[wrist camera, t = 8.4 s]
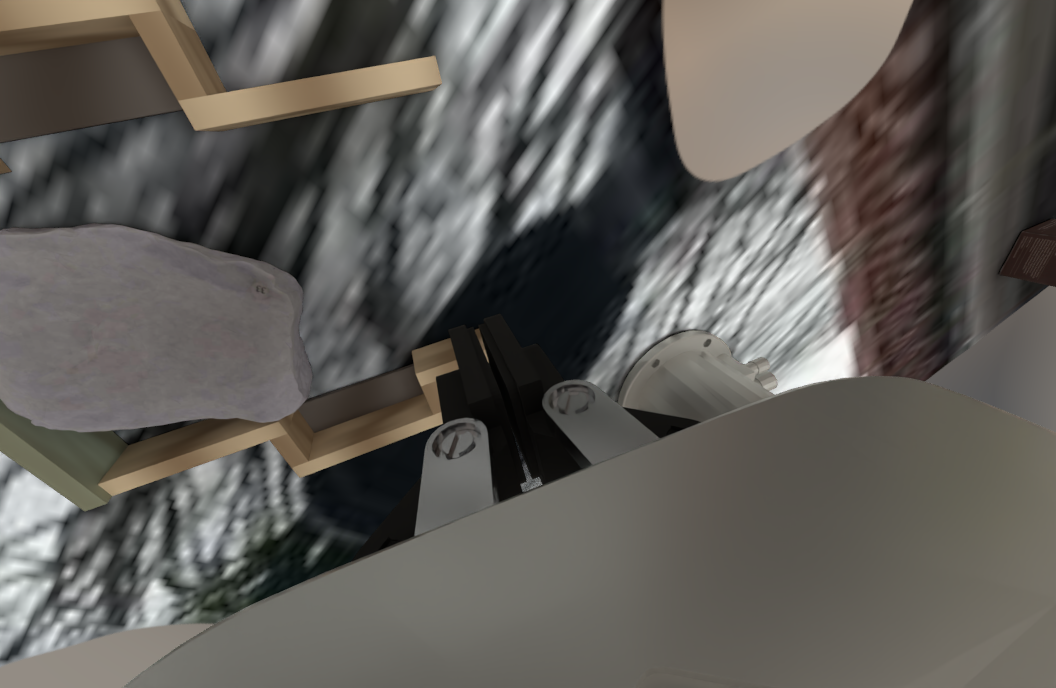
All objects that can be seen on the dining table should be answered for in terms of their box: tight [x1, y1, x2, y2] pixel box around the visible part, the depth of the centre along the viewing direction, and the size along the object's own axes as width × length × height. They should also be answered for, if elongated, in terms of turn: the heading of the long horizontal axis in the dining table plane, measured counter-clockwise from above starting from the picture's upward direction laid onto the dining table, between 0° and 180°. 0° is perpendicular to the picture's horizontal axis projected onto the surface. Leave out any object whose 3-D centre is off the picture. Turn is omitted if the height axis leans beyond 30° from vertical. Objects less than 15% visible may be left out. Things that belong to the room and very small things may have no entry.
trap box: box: [0, 0, 489, 511], centre depth 19 cm, size 24×23×4 cm
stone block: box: [0, 223, 313, 432], centre depth 19 cm, size 12×5×10 cm
